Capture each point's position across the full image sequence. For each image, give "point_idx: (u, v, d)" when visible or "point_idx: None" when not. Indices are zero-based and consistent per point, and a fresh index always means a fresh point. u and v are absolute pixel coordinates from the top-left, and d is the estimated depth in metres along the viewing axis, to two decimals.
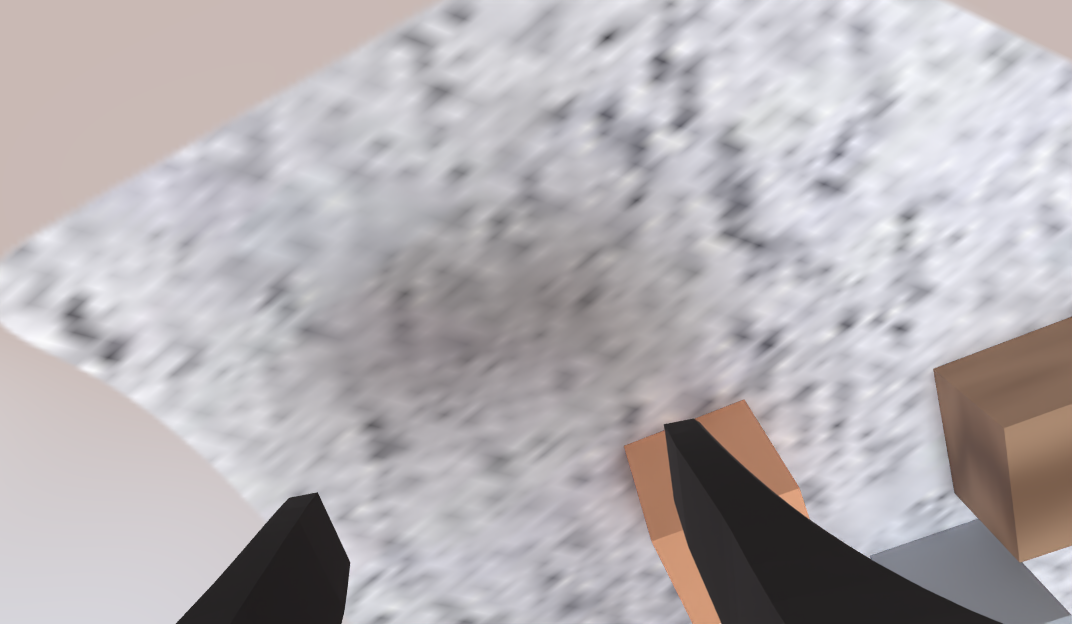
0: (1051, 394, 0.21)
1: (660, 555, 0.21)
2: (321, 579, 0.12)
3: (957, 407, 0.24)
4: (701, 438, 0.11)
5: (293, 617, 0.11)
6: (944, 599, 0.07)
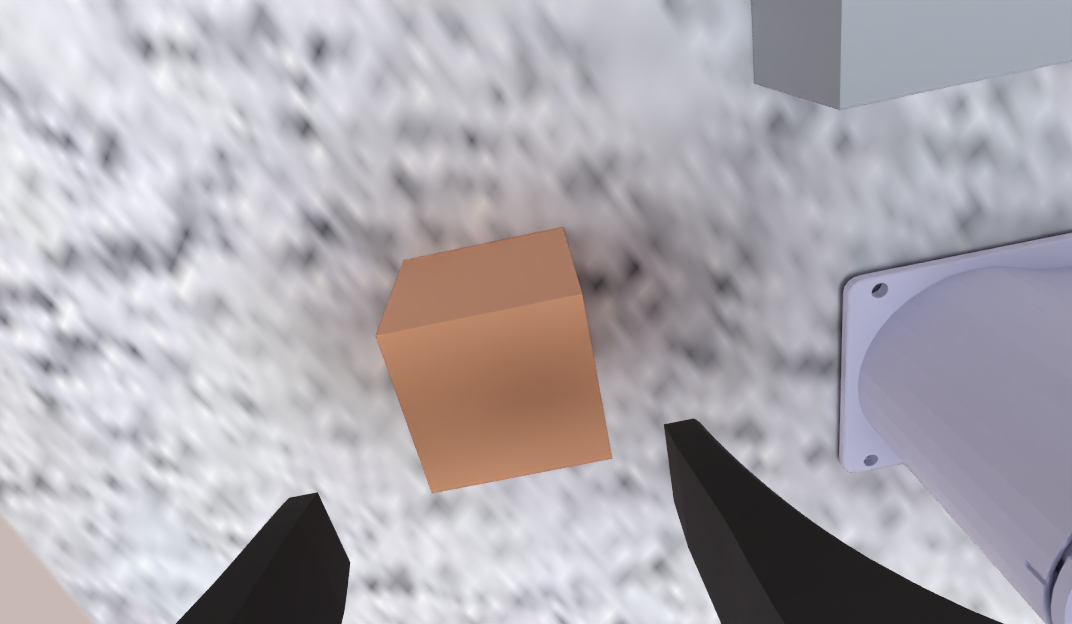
0: None
1: (458, 486, 0.17)
2: (321, 579, 0.12)
3: None
4: (701, 438, 0.11)
5: (293, 617, 0.11)
6: (944, 600, 0.07)
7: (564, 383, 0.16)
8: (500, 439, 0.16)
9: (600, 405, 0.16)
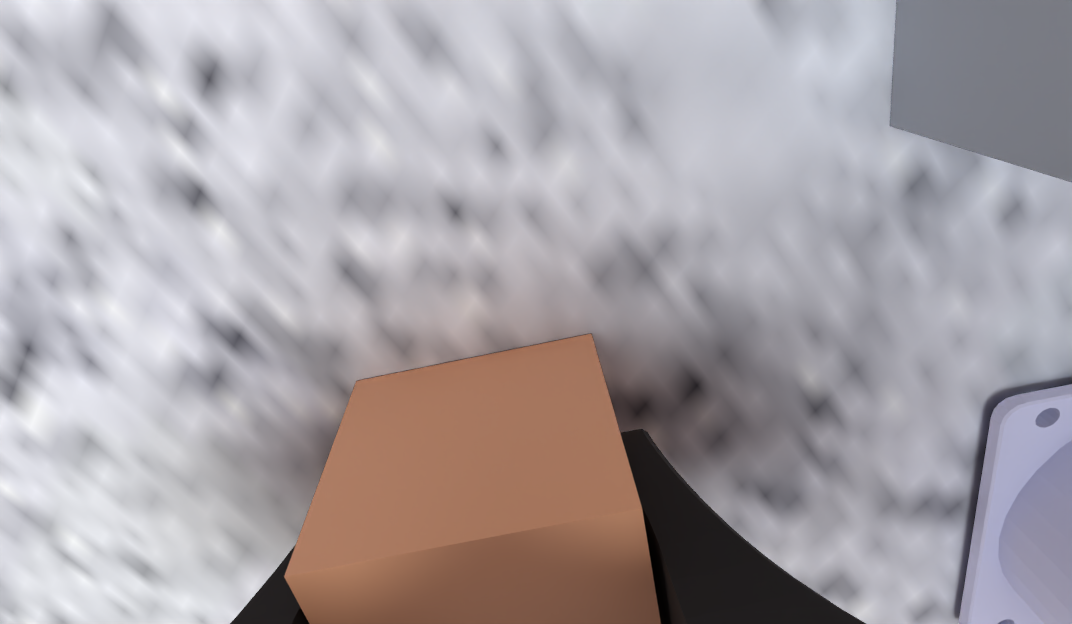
0: None
1: None
2: None
3: None
4: (644, 449, 0.11)
5: None
6: (850, 617, 0.07)
7: None
8: None
9: None
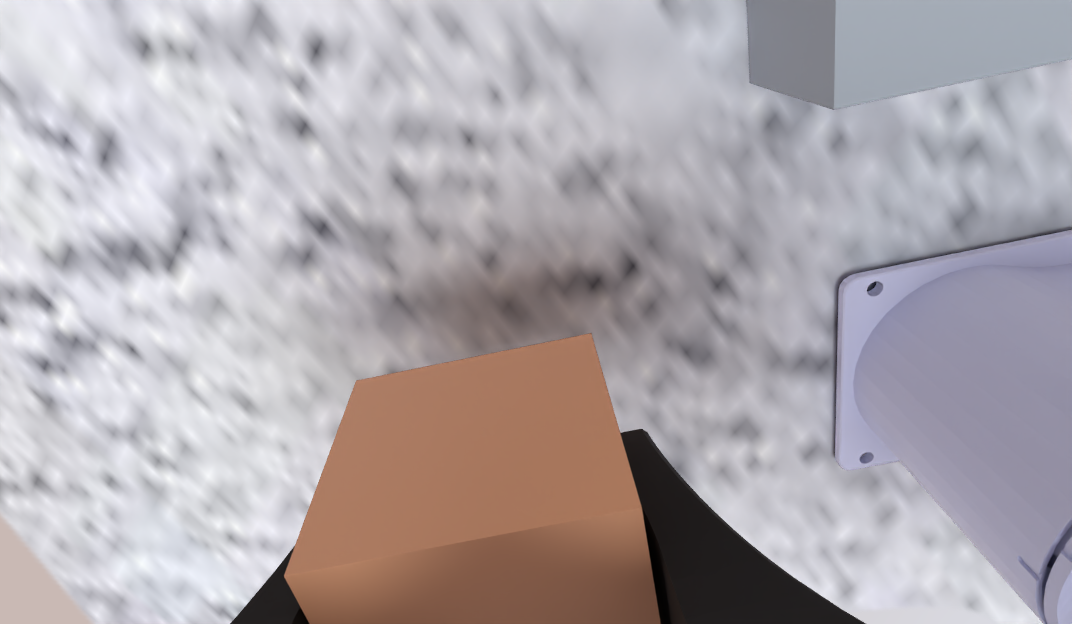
0: None
1: None
2: None
3: None
4: (644, 449, 0.11)
5: None
6: (850, 617, 0.07)
7: None
8: None
9: None
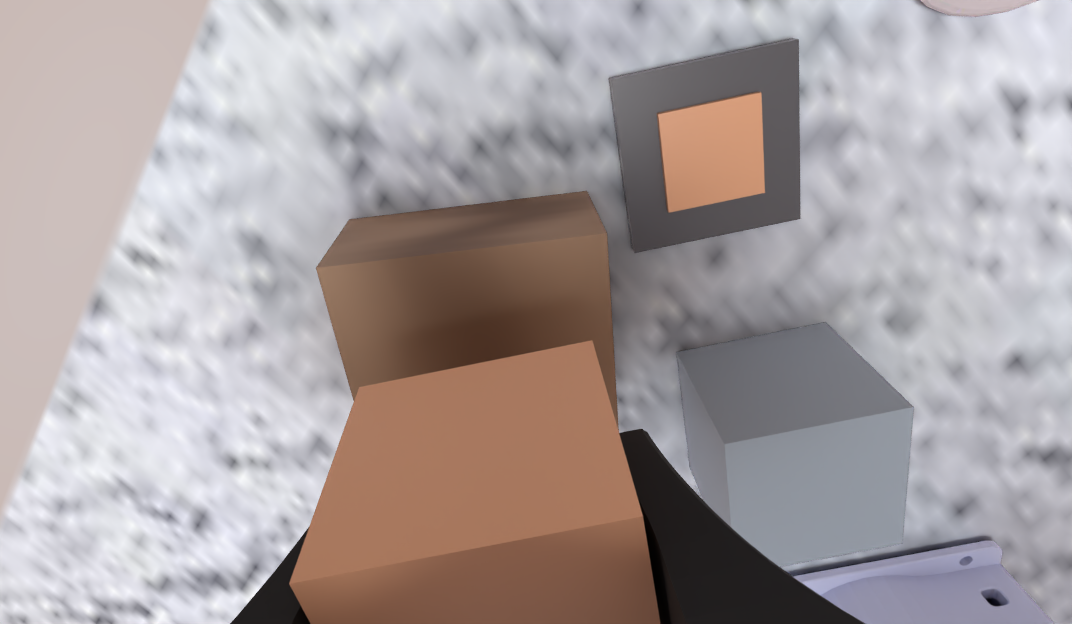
0: None
1: None
2: None
3: None
4: (644, 449, 0.11)
5: None
6: (850, 617, 0.07)
7: None
8: None
9: None
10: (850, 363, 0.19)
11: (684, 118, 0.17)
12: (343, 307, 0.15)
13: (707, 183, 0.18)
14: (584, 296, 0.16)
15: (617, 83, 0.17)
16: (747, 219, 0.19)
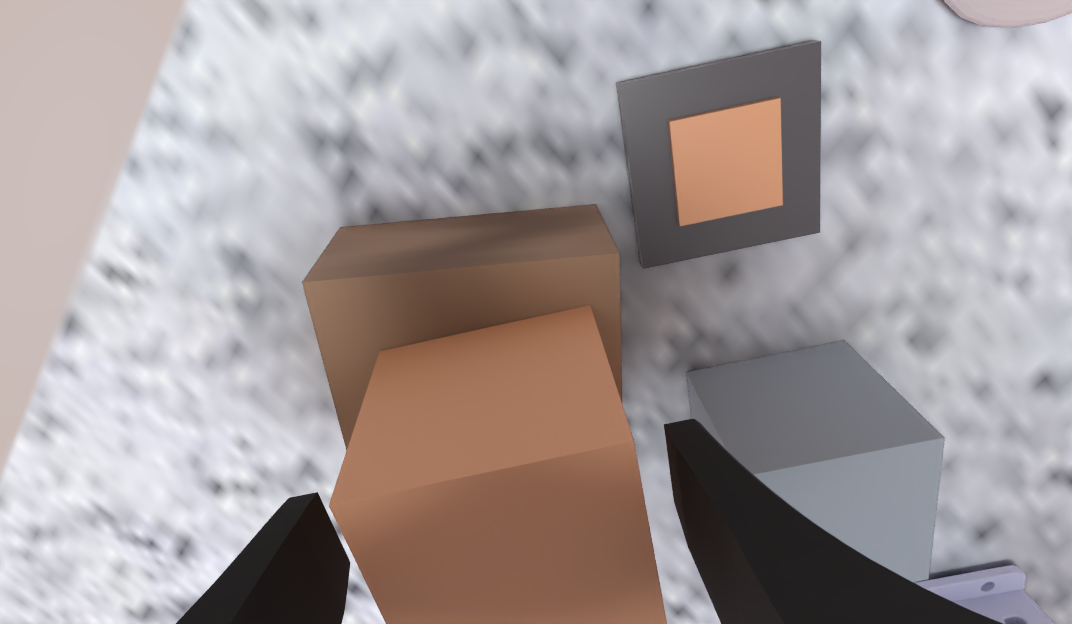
0: None
1: None
2: (321, 579, 0.12)
3: None
4: (701, 438, 0.11)
5: (293, 617, 0.11)
6: (944, 599, 0.07)
7: (606, 555, 0.11)
8: None
9: (656, 580, 0.11)
10: (873, 386, 0.17)
11: (697, 126, 0.16)
12: (331, 325, 0.14)
13: (721, 195, 0.17)
14: None
15: (625, 88, 0.16)
16: (763, 233, 0.17)
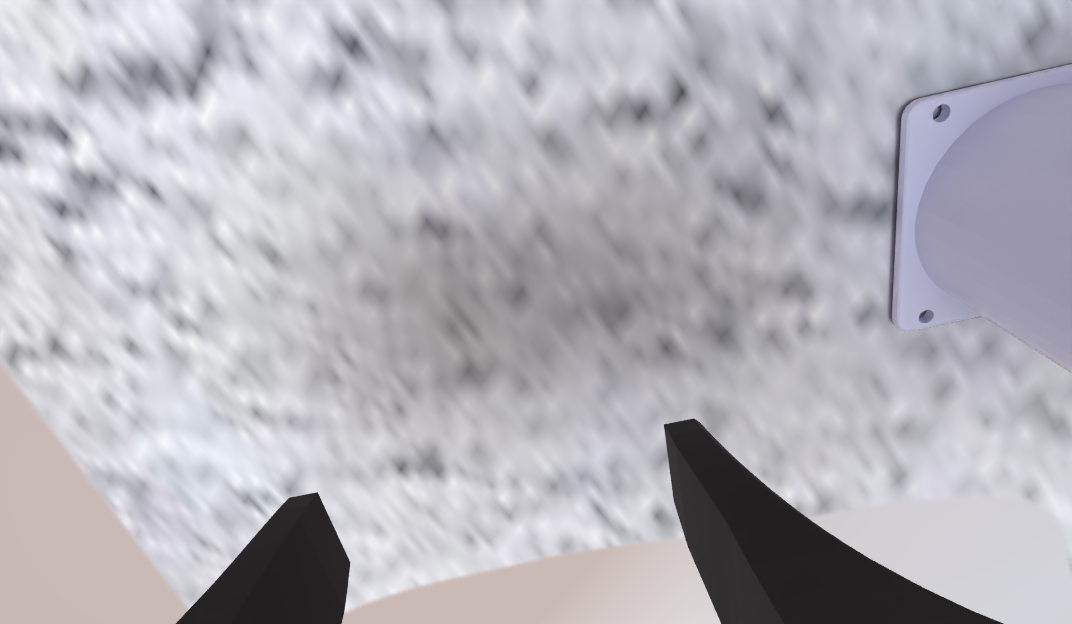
0: None
1: None
2: (321, 579, 0.12)
3: None
4: (701, 438, 0.11)
5: (293, 617, 0.11)
6: (944, 599, 0.07)
7: None
8: None
9: None
10: None
11: None
12: None
13: None
14: None
15: None
16: None
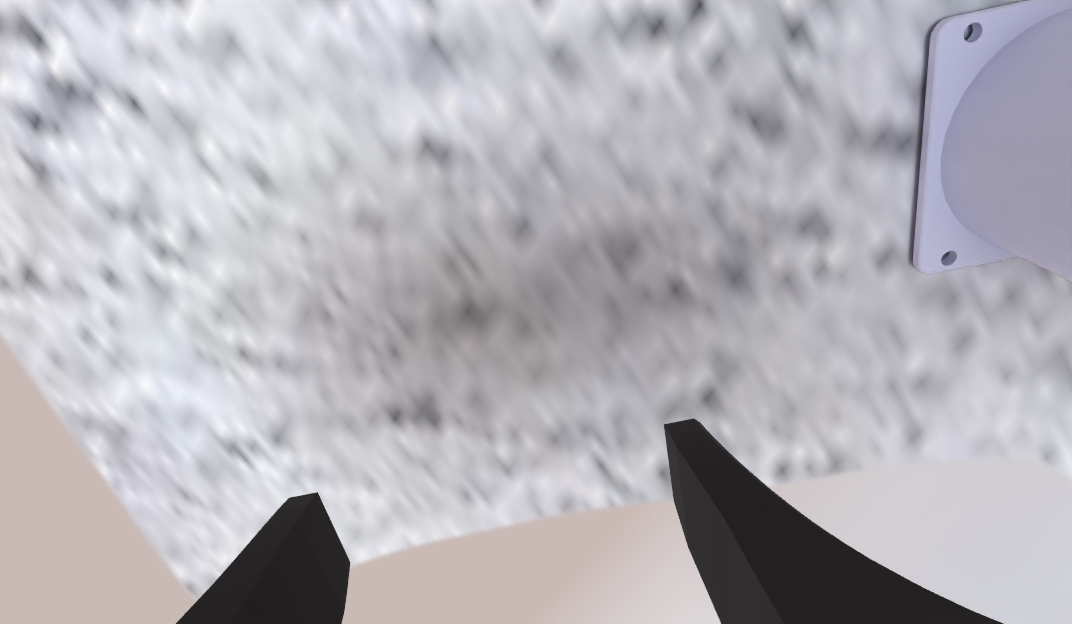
0: None
1: None
2: (321, 579, 0.12)
3: None
4: (701, 438, 0.11)
5: (293, 617, 0.11)
6: (944, 599, 0.07)
7: None
8: None
9: None
10: None
11: None
12: None
13: None
14: None
15: None
16: None
